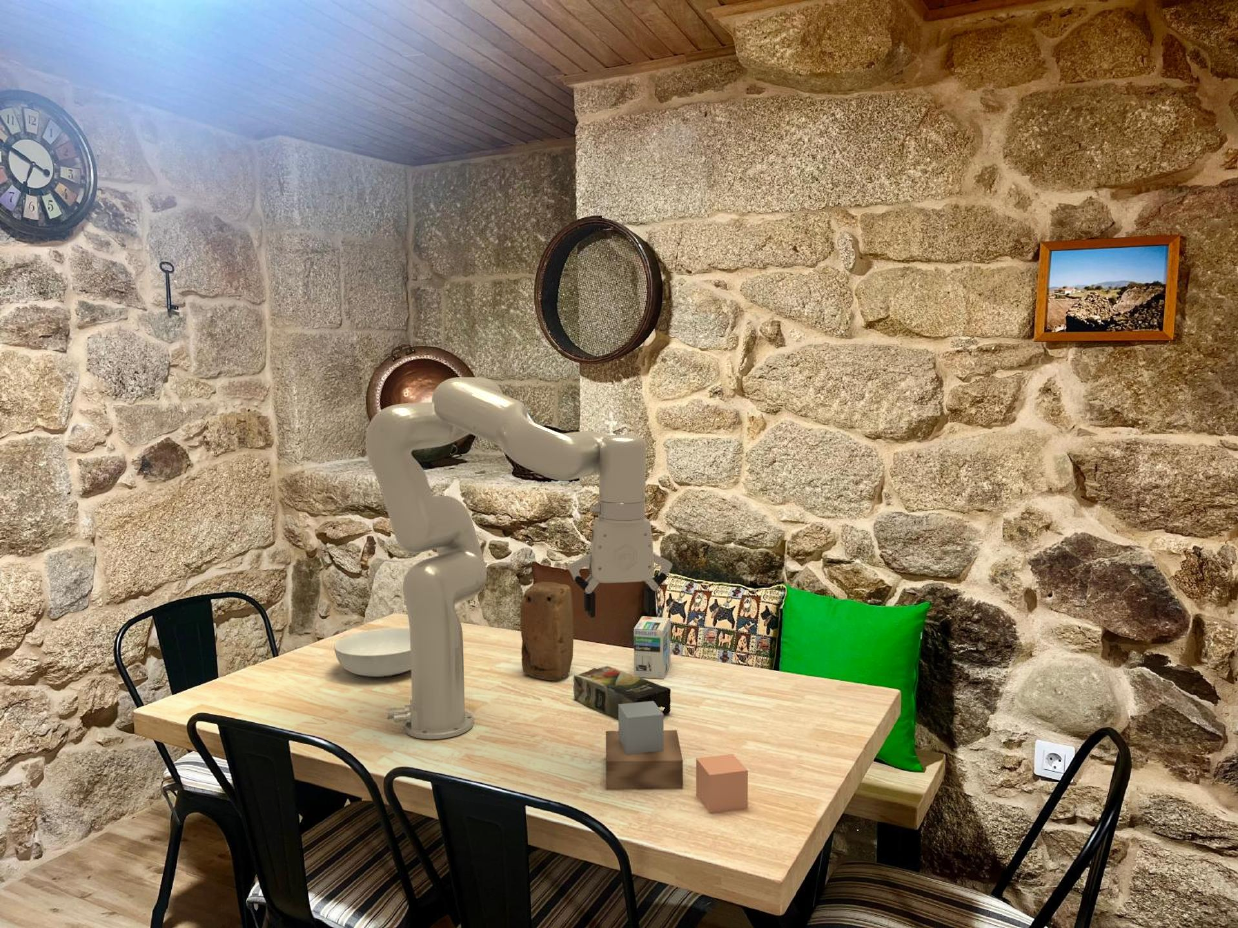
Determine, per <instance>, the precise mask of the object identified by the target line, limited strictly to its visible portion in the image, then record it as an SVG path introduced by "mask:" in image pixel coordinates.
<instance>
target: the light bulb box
mask: <svg viewBox="0 0 1238 928" xmlns="http://www.w3.org/2000/svg"><path fill="white" fill-rule="evenodd" d="M671 665H672V664H671V618H669V617H658V616H644V615H643V616H641V617H640V619H639V621H638V622H637V623H636V625H635V626H634V628H633V668H634V669H633V676H636V677H639V678H643V679H644V678H648V679H660V680H663V679H665V676H666V675H667V672H668V671H669V669H670V666H671Z"/></svg>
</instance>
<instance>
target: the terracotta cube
mask: <svg viewBox="0 0 1238 928" xmlns="http://www.w3.org/2000/svg"><path fill="white" fill-rule="evenodd" d="M748 776H749V770H748V769H747V768H746V766H745V765H744V764H743V763H742V762H741V761H740V760H739V758H737V756H736V755H734V753H729V754H721V755H714V756H711V755H710V756H704V757H697V758H696V759H695V785H696V786H695V793H696V794H695V796H696V797H697V798H698V800H699V801H700V802H701V804H702V805H703V807H704V808H705V809H706V811H707V812H708V813H709V814H717V813H723V812H731V811H737V810H738V811H739V810H746V809H748V802H749V801H748V800H749V798H748V796H749V794H748V792H749V790H748V788H749V786H748V783H749V777H748Z"/></svg>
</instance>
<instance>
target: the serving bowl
mask: <svg viewBox="0 0 1238 928" xmlns="http://www.w3.org/2000/svg"><path fill="white" fill-rule="evenodd" d="M333 649H334V652H335V656H336V660H337V661H338V663H339V664H340V665H341V667H342V668H343V669H345V670H347V671H348V672H349V673H351V674H352V673H353V674H354V675H358V676H365V677H372V676H373V677H372V678H385V677H384V676H387V677H392V675H393V676H396V675H400V674H402V673H405V672H409V671H411V651H410V630H409V627H386V628H385V627H383V628H376V629H370V630H369V629H368V630H364V631H360V632H357V633H352V634H350V635H347V636H344V637H343V638H341V639H339V640H338V641H336V643H334V648H333ZM395 674H396V675H395Z"/></svg>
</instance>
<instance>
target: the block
mask: <svg viewBox="0 0 1238 928" xmlns="http://www.w3.org/2000/svg"><path fill="white" fill-rule="evenodd" d="M572 597H573V595H572V589H571V587H570V586H569V585H568V584H564V583H559V582H558V583H557V582H556V581H539V582H536V583H534V584H532V585H530V586H529V587H528V588H527V589H526V590H525V591H524V593H523V595H522V599H521V603H520V610H519V611H520V620H519V621H520V636H521V654H520V655H521V669H522V672H523V673H524V674H525V675H527V676H531V677H533V678H538V679H541V680H545V681H546V680H547V681H556V680H557V681H560V680H562V679H564V678H567V677H568V676H569V674H570V672H571V666H572V663H573V662H572V661H573V659H574V658H573V657H574V614H573V613H574V612H573V598H572Z"/></svg>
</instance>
